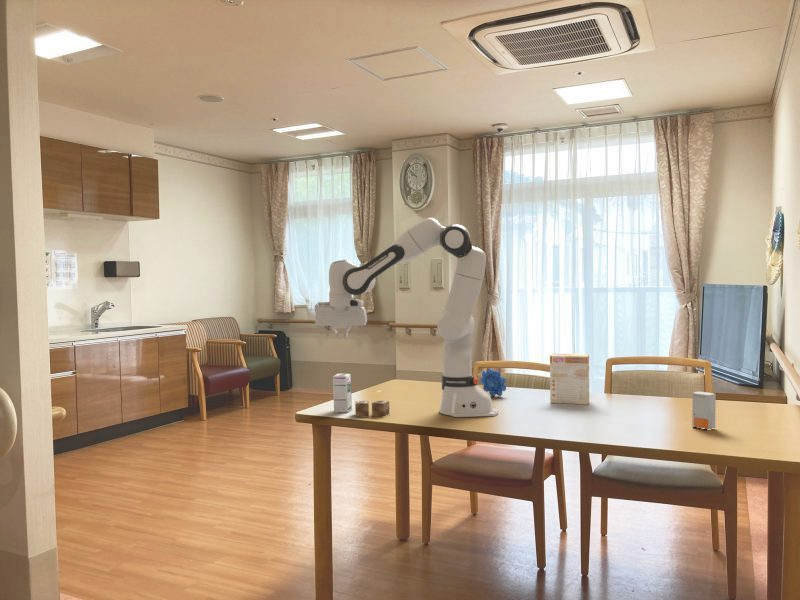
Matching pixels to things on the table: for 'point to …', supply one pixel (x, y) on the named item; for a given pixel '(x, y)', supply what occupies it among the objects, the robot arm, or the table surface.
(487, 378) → the blue gear wheel
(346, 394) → the syrup box
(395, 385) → the table surface
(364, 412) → the walnut block one
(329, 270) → the robot arm
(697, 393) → the skincare box
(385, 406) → the walnut block two
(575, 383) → the coffeecake box
